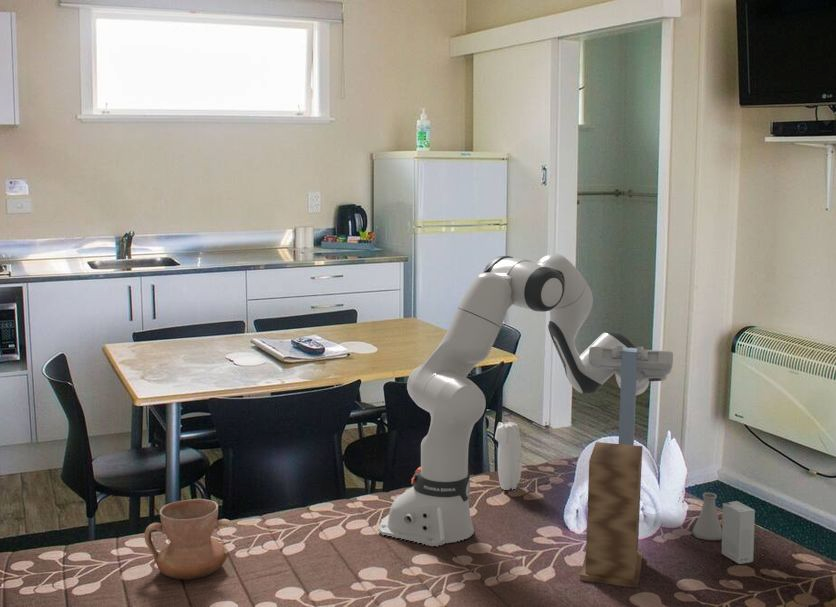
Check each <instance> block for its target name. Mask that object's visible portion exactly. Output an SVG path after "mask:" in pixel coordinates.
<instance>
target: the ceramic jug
mask: <svg viewBox="0 0 836 607" xmlns="http://www.w3.org/2000/svg"><path fill="white" fill-rule="evenodd" d="M158 511H159V512H158V513H159V517H160V522H152V523H150V524H149V525H148V526H146V528H145V530H144V542H145V544H146V547H147V548H148V550H149V551H150V553H151V554H152V556H153V560H154V562H155V564H156V566H157V568H158V570H159V571H160V572H161V573H162V574H163V575H165V576H167V577H169V578H173V579H177V580H195V579H200V578H204V577H207V576H209V575H212V574H213V573H215V572H216V571H218V570H219V569H220V568H222V566H223V565H224V563H225V562H226V561H227V559H228V557H229V555H230V554H229V553H230V552H229V550H228V548H227V549H226V547H225V546H224V545H223V544H222V543H221V542H220V541H218V540H216V539H214V538H212V535H213V533H214V531H215V530H216V529H217V528H219V527H222V526H223V527H227V528H228V527H229V524H230V522H231V521H230V520H229V519H228V518H227V519H226V518H222V519H218V516H219V505H218V503H217V502H216V501H214V500H211V499H206V498H193V499H185V500H177V501H174V502H171V503H170V502H169V503H168V504H165V505H163V506H162V507H161V508H160V509H159V510H158ZM153 531H157V532H160V533H162V534H163V535H166V536H167V538H168V541H169V544H167V545H166V546H165V547H164V548H162V549H161V550H160V551H159V552H158V551H157V549H156V547H155V545H154V543H153V539H152V533H153Z"/></svg>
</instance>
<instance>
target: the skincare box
mask: <svg viewBox="0 0 836 607" xmlns="http://www.w3.org/2000/svg"><path fill="white" fill-rule="evenodd" d="M755 514H756V510H755V509H754V508H752V507H750V506H748V505H746V504H743V503H742V502H740V501H738V500H735V501H729V502H724V503H722V518H721V519H722V522H721V523H722V525H721V529H722V539H721V554H722V555H724V556H725V557H726V558H728V559H729V560H731V561H734V562H735V563H736V564H738V565H744V564H748V563H752V562H754V549H755V548H754V547H755V522H756V521H755Z"/></svg>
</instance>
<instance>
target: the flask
mask: <svg viewBox="0 0 836 607" xmlns="http://www.w3.org/2000/svg"><path fill="white" fill-rule="evenodd" d="M717 497H718V495H717V494H716V493H714V492H703V494H702V498H703V503H702V507H701V511H700V513H699V516H698V518H697V520H696V522H695V524H694V526H693V529H692V530H691V534H692V535H693V536H694V537H695V538H696V539H701V540H706V541H722V525H721V523H720V520H719V518H718V516H719V515H718V513H717V507H716V499H717Z"/></svg>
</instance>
